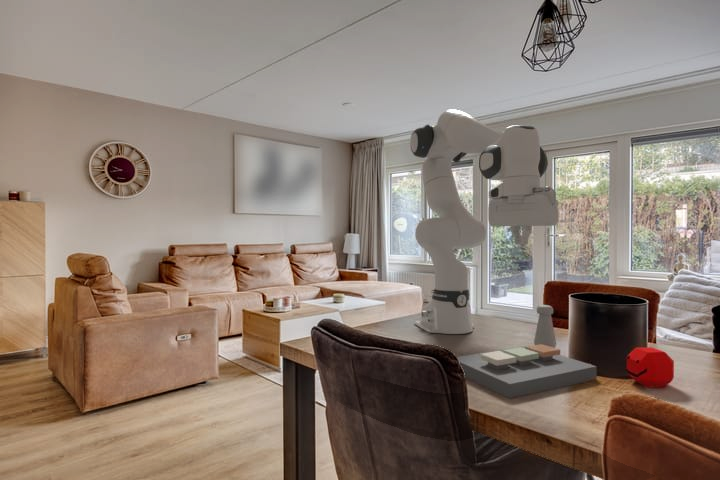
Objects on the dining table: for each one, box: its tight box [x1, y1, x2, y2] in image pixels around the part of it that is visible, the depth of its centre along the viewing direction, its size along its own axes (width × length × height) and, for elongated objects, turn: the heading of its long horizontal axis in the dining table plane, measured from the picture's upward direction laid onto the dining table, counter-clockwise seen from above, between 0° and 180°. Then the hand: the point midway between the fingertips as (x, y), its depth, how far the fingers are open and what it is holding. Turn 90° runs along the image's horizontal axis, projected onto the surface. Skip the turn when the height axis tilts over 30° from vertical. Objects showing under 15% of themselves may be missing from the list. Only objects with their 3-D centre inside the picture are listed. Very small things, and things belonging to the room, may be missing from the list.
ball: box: [626, 346, 675, 388], centre depth 95 cm, size 8×8×8 cm
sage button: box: [502, 346, 539, 365], centre depth 102 cm, size 6×6×4 cm
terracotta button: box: [525, 344, 561, 361], centre depth 105 cm, size 6×6×4 cm
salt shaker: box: [533, 304, 557, 348], centre depth 121 cm, size 6×6×13 cm
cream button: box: [480, 350, 516, 370], centre depth 99 cm, size 6×6×4 cm
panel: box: [456, 345, 598, 399], centre depth 102 cm, size 20×26×3 cm
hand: (521, 244), depth 108 cm, fingers closed
